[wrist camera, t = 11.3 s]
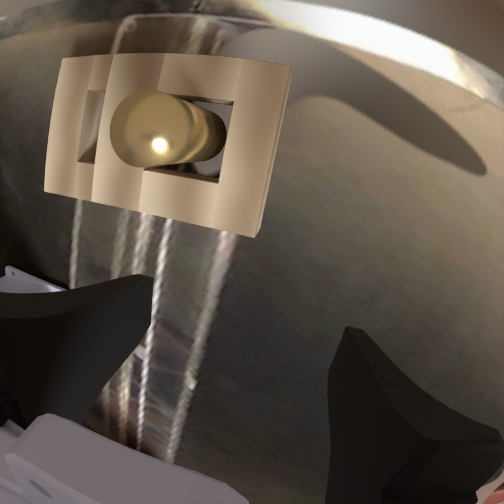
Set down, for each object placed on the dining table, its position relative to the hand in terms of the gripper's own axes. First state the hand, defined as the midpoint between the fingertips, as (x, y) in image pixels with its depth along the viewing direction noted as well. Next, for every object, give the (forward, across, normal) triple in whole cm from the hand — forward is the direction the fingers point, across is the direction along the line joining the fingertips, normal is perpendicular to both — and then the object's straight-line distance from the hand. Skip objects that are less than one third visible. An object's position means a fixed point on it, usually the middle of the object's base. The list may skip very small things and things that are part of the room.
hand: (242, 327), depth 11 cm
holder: (+10, +9, -6) cm, 15 cm away
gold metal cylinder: (+10, +6, -6) cm, 13 cm away
